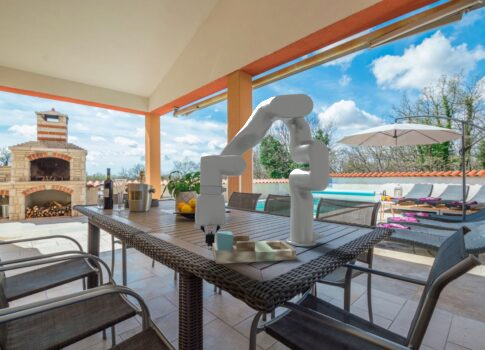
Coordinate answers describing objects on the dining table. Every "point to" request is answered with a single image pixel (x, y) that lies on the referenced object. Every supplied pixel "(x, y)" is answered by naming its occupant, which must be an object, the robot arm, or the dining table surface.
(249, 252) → the board
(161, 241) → the dining table surface
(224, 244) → the teal cube
